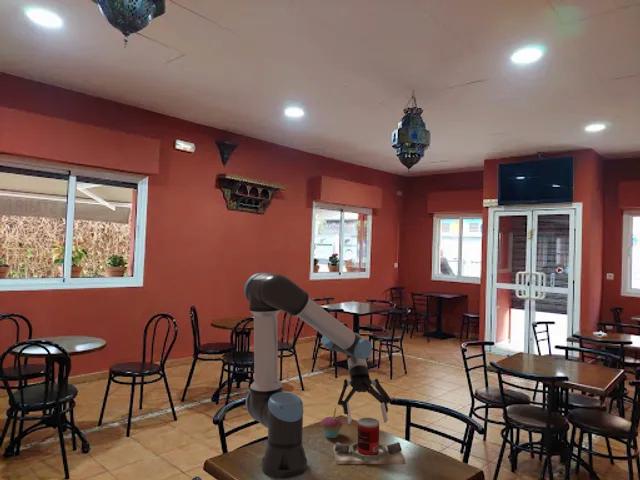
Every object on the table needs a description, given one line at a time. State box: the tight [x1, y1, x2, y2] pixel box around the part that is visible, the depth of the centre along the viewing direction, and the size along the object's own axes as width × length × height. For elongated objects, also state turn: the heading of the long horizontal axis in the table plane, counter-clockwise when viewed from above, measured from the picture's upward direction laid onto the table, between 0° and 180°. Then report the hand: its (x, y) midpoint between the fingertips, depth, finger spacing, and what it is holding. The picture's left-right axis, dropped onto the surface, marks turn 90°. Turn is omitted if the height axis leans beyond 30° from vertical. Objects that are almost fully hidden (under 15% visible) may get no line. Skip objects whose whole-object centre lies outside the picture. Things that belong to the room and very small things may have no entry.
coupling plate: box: [333, 440, 406, 465], centre depth 159 cm, size 24×13×5 cm, turn 93°
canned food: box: [357, 417, 380, 455], centre depth 159 cm, size 8×8×11 cm
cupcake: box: [320, 407, 343, 439], centre depth 176 cm, size 9×8×12 cm
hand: (368, 421), depth 162 cm, fingers open, 13 cm apart
